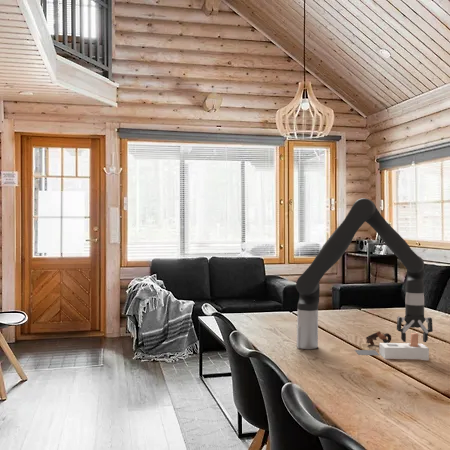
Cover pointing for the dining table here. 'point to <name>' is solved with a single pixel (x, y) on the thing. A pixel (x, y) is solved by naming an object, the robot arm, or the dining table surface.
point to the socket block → (403, 351)
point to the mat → (366, 352)
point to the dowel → (414, 340)
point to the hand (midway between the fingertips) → (414, 341)
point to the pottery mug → (381, 336)
